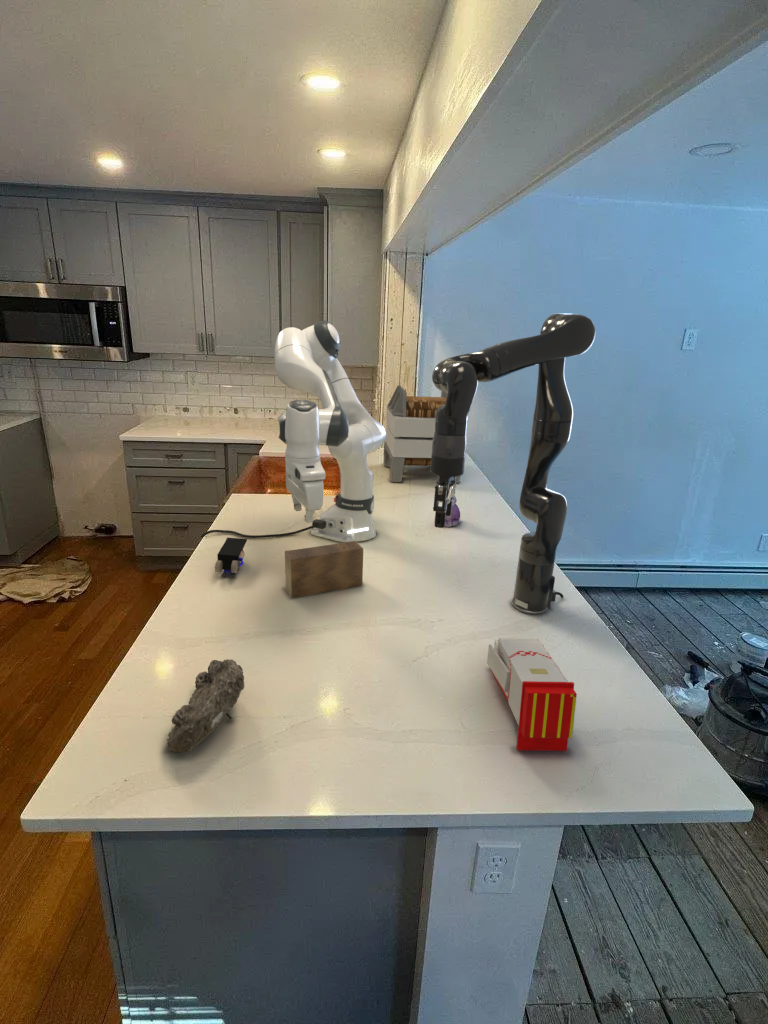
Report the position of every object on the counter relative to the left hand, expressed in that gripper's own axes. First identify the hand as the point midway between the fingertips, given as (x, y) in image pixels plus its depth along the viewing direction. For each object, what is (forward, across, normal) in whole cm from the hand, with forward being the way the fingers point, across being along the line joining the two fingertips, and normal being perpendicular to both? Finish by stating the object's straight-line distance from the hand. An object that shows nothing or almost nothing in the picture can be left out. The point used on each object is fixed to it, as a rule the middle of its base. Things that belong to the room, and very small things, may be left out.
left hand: (303, 516), depth 150 cm
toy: (+22, +62, +26) cm, 71 cm away
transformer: (+22, -95, +90) cm, 133 cm away
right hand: (-7, +31, +24) cm, 39 cm away
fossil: (+22, +42, -32) cm, 57 cm away
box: (+22, 0, +6) cm, 23 cm away
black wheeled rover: (+22, -20, -15) cm, 34 cm away
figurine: (+22, -32, +67) cm, 77 cm away
